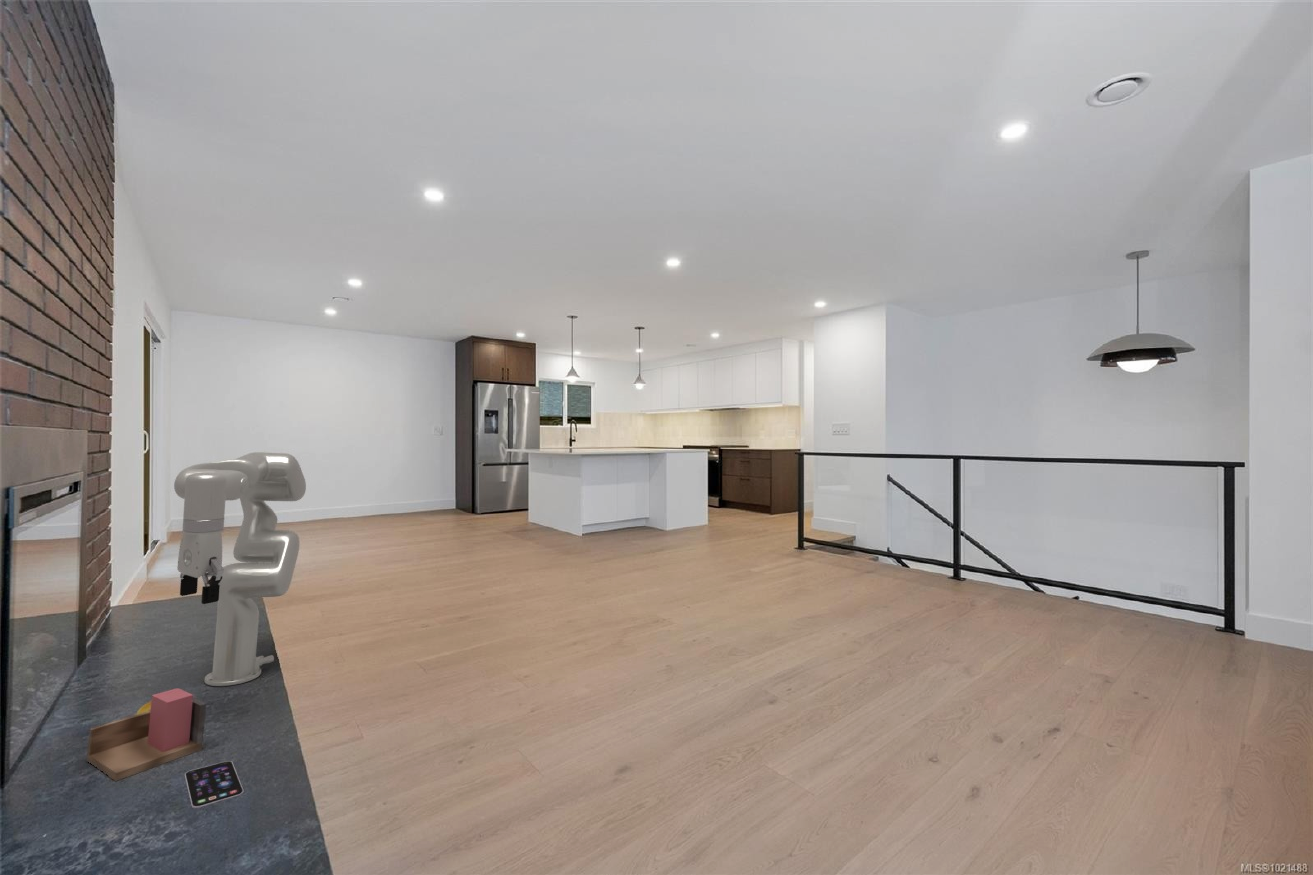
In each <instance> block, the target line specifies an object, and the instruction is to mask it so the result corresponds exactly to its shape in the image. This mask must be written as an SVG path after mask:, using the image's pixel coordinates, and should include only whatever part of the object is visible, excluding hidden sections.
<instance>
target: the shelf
mask: <svg viewBox="0 0 1313 875" xmlns="http://www.w3.org/2000/svg"><path fill="white" fill-rule="evenodd" d="M206 709H207V703H205V702H203V701H200V700H199V699H196V698H194V697H193V703H192V715H191V727H190V739H189V743H188V744H185V745H182V746H179V747H176V748H174V749H171V750H168V751H165V752H161V751H160V750H158V749H156V748H154V747H152V746H151V745H149V744H148V733H149V722H150V711H148V712H144V713H141V714H137V715H136V714H134V715H131V716H128V717H125V718H120V719H117V720H114V721H111V722H108V723H104V724H100V725H97V726H93V727H90V728H89V733H88V734H89V736H88V743H87V744H88V746H87V755H86V762H87V761H88V762H89V763H88V762H87V763H88V764H90V763H91V764H93V765H95V767H97V768H98V769H100V770H101V771H103V772H104V773H103V772H102V773H103V774H104V775H106V774H107V775H108V776H107V775H106V776H107V777H109V778H110V779H112V780H113V781H115V782H118V781H120V780H123V779H126V778H128V777H131V776H134V775H136V774H140V773H142V772H145V771H147V770H150V769H153V768H155V767H158V766H160V765H164V764H166V763H169V762H172V761H175V760H176V759H180V758H182V757H185V756H188V755H190V754H194V753H196V752H199V751H201V750H203V743H204V731H205V720H206ZM91 764H90V765H91ZM95 767H94V768H95ZM97 768H96V769H97ZM98 769H97V770H98ZM100 770H99V771H100ZM101 771H100V772H101Z"/></svg>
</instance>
